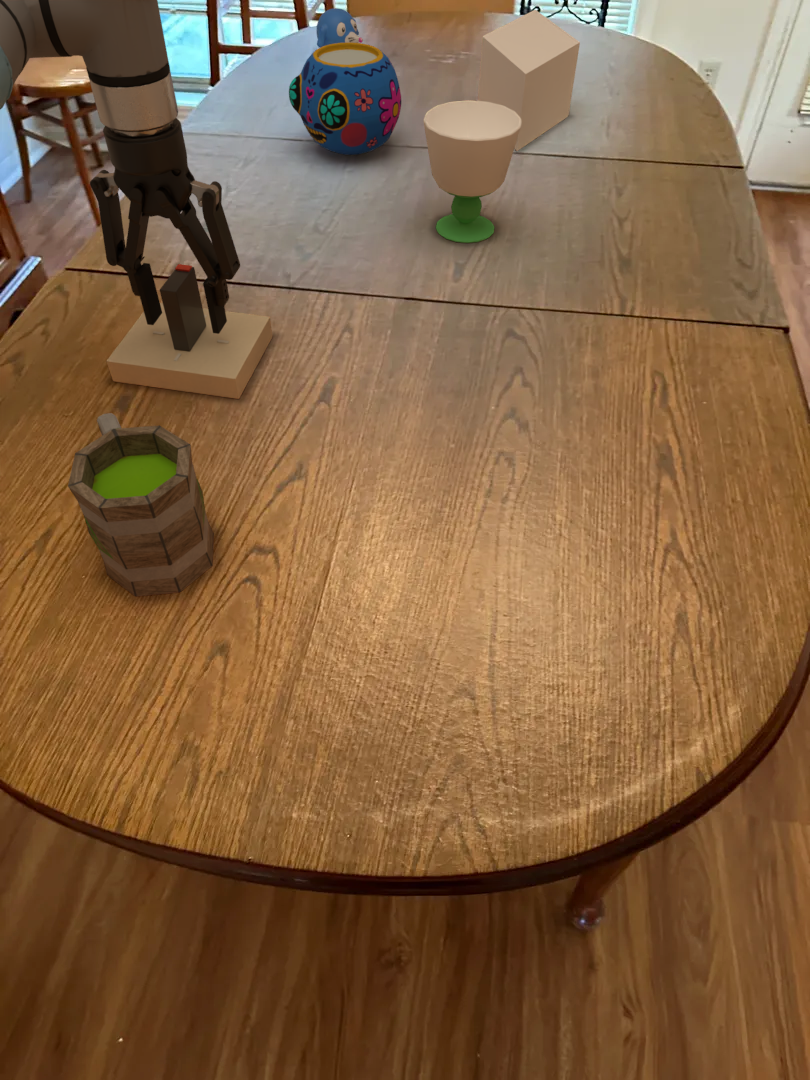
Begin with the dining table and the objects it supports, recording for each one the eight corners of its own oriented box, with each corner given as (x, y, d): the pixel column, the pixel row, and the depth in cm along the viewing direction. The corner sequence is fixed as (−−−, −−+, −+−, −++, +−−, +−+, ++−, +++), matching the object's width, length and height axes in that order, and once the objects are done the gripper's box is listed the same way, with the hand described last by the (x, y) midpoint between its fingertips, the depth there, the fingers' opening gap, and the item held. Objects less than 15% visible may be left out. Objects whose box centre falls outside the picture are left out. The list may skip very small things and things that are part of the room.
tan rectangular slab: (112, 381, 95) (105, 359, 92) (156, 321, 103) (150, 300, 101) (239, 399, 93) (234, 377, 90) (272, 336, 101) (269, 315, 99)
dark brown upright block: (190, 351, 94) (175, 290, 88) (174, 349, 94) (158, 287, 88) (206, 325, 97) (193, 264, 91) (191, 324, 98) (177, 262, 91)
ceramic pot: (281, 146, 139) (270, 51, 128) (357, 120, 147) (354, 28, 136) (343, 180, 131) (338, 81, 119) (421, 150, 139) (423, 55, 127)
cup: (422, 251, 116) (425, 139, 104) (418, 207, 125) (420, 100, 113) (515, 251, 116) (528, 139, 104) (504, 207, 125) (515, 99, 113)
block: (467, 147, 140) (473, 70, 130) (484, 76, 162) (490, 7, 153) (566, 155, 138) (579, 77, 129) (569, 82, 161) (580, 12, 151)
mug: (234, 570, 76) (212, 481, 67) (123, 615, 72) (84, 527, 63) (180, 471, 85) (154, 381, 76) (79, 507, 81) (39, 416, 72)
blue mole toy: (342, 70, 164) (340, 24, 158) (304, 56, 169) (300, 11, 163) (382, 56, 170) (382, 11, 163) (344, 43, 175) (342, -2, 169)
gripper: (252, 115, 78) (278, 315, 95) (62, 97, 81) (121, 295, 98) (226, 146, 73) (258, 351, 90) (25, 126, 76) (93, 329, 93)
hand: (187, 322), depth 94 cm, fingers open, 8 cm apart
